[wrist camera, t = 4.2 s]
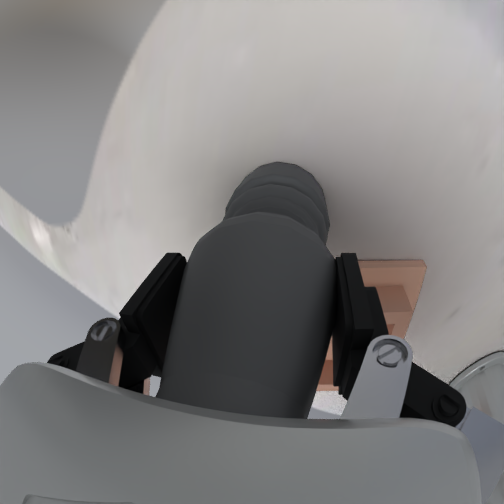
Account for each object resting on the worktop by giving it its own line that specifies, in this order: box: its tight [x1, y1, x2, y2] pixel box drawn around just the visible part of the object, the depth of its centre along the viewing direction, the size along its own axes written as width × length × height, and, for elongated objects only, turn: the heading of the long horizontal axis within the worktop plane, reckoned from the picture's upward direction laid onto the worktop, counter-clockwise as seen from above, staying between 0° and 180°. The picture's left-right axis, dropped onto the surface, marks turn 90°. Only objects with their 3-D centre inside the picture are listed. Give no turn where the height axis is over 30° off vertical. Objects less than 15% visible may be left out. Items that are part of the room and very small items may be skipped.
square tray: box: [316, 260, 427, 391], centre depth 22 cm, size 14×14×4 cm
